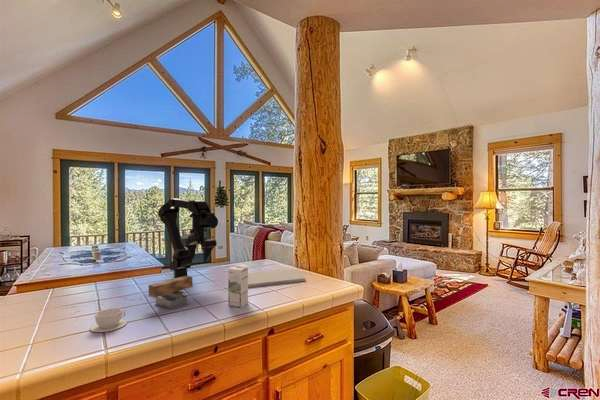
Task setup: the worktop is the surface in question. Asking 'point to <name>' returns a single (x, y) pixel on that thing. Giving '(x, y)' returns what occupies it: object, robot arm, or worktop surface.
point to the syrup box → (238, 286)
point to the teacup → (109, 320)
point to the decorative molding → (274, 277)
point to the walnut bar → (170, 286)
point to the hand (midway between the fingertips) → (198, 260)
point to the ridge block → (172, 300)
